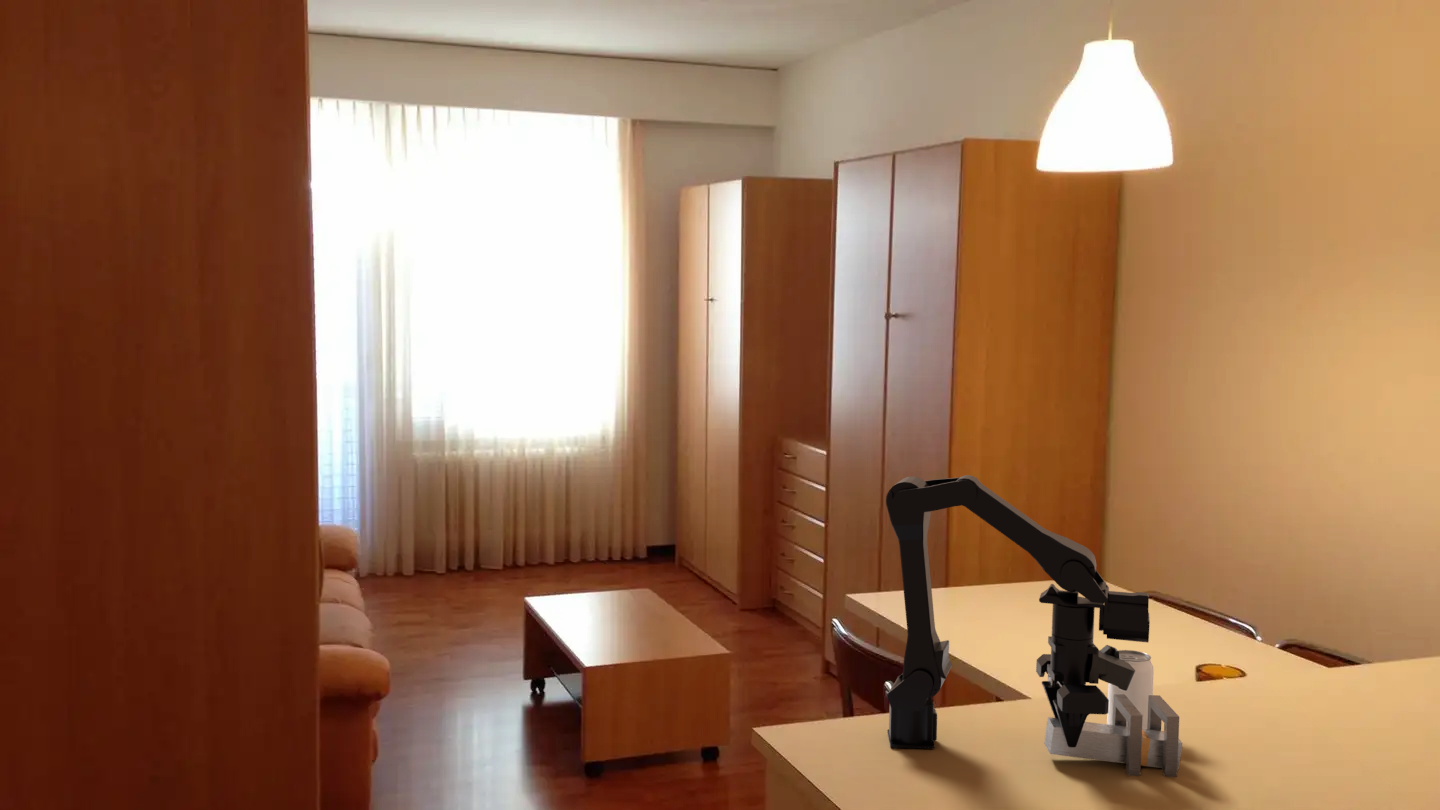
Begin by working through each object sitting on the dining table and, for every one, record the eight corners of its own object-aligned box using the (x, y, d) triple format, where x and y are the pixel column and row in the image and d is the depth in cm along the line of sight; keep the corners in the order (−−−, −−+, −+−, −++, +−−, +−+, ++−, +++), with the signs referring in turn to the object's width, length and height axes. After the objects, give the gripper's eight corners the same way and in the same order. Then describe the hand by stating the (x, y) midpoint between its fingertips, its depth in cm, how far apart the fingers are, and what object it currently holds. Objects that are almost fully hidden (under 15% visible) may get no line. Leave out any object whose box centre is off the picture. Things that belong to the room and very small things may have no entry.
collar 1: (1128, 775, 165) (1130, 715, 164) (1111, 751, 174) (1113, 694, 173) (1140, 775, 165) (1142, 715, 164) (1122, 751, 174) (1124, 694, 173)
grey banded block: (1050, 754, 168) (1053, 726, 168) (1044, 743, 172) (1047, 716, 172) (1178, 770, 167) (1182, 742, 167) (1169, 759, 171) (1173, 732, 171)
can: (1154, 740, 178) (1157, 662, 177) (1109, 737, 180) (1112, 660, 179) (1147, 725, 185) (1150, 650, 184) (1104, 722, 186) (1107, 647, 185)
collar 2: (1165, 776, 165) (1167, 716, 164) (1146, 752, 174) (1148, 695, 173) (1176, 776, 165) (1179, 716, 164) (1157, 752, 174) (1159, 695, 173)
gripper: (1149, 656, 159) (1144, 768, 160) (1112, 619, 177) (1108, 720, 179) (1065, 653, 159) (1060, 765, 161) (1037, 616, 178) (1033, 717, 179)
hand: (1068, 741), depth 170 cm, fingers closed on grey banded block, 4 cm apart
